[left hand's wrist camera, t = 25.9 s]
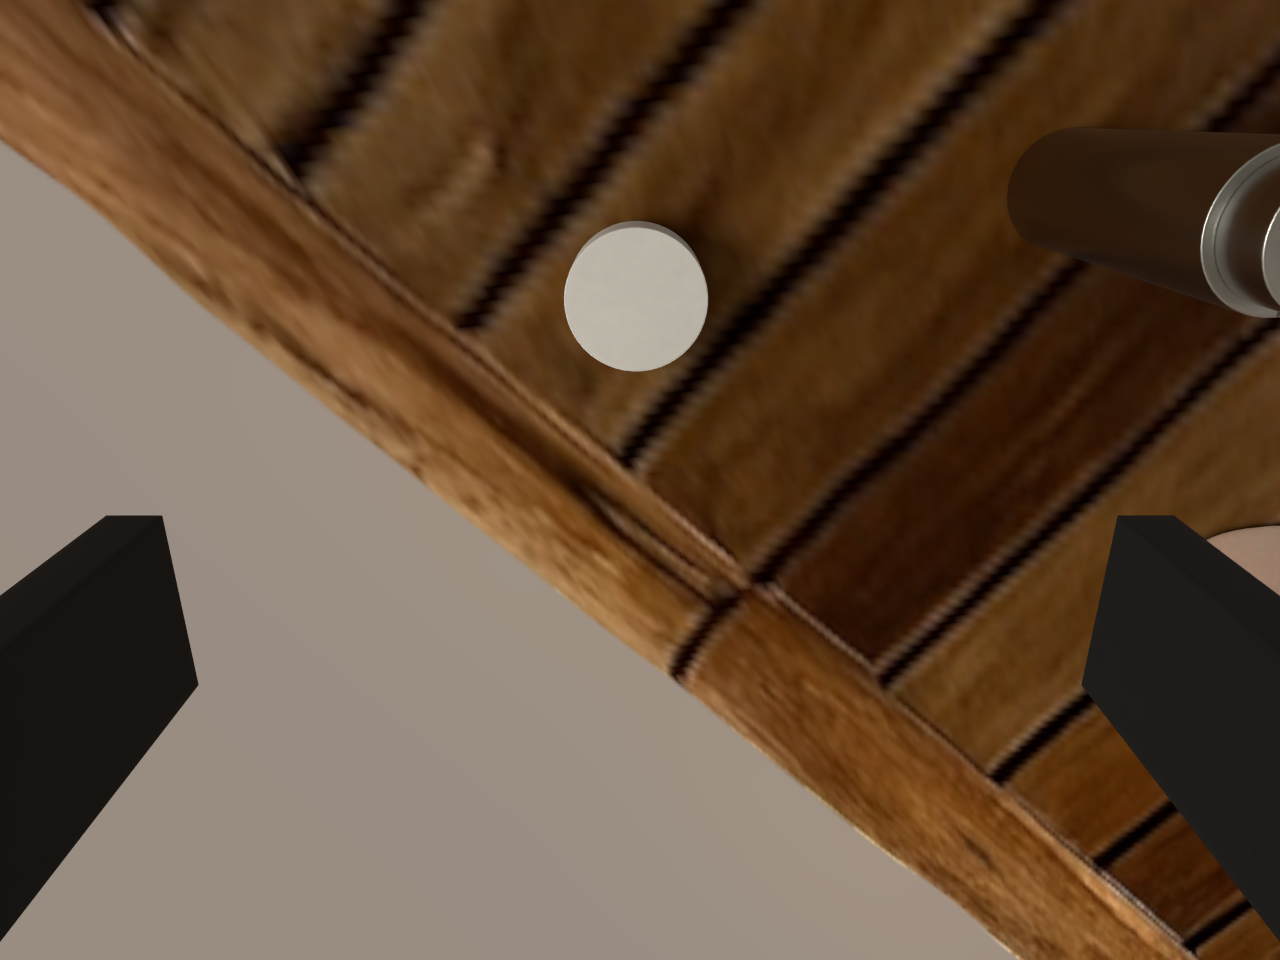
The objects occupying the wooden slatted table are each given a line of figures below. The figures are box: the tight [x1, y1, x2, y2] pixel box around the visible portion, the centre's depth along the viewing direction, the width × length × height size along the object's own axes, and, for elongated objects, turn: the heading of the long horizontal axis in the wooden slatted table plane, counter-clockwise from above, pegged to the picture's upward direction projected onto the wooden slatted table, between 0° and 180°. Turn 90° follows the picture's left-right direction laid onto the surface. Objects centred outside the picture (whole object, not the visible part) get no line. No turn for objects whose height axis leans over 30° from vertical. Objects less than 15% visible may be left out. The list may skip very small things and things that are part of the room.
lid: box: [564, 221, 708, 371], centre depth 36 cm, size 6×6×2 cm
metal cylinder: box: [1008, 128, 1280, 318], centre depth 28 cm, size 4×4×15 cm
